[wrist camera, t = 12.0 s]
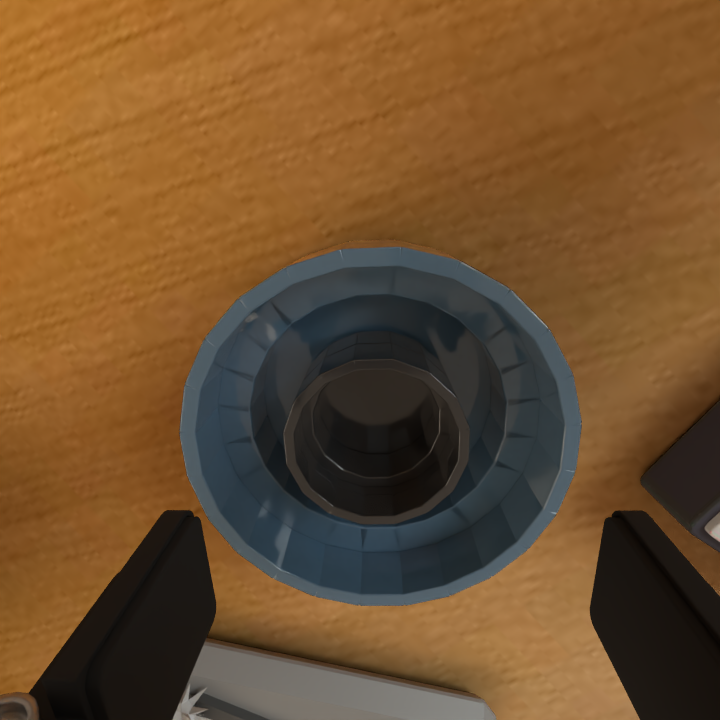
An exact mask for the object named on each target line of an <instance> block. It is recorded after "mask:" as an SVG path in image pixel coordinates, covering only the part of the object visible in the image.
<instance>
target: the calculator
mask: <svg viewBox="0 0 720 720" xmlns="http://www.w3.org/2000/svg"><path fill="white" fill-rule="evenodd" d="M641 485H642V486H643V487H644V488H645V489H646V490H647V491H648V492H649V493H650V494H651V495H652V496H653V497H654V498H655V499H656V500H657V501H658V502H659V503H660V504H661V505H662V506H663V507H664V508H665V509H666V510H667V511H668V512H669V513H670V514H671V515H672V516H673V517H674V518H675V519H676V520H677V521H678V522H679V523H680V524H681V525H682V526H683V527H684V528H685V529H687V530H688V531H689V532H690V533H691V534H692V535H694V536H695V537H697V538H698V539H700V540H701V541H703V542H704V543H706V544H708V545H709V546H711V547H712V548H714V549H715V550H717V551H718V552H720V400H719V401H718V402H717V403H716V404H715V405H714V406H713V407H712V408H711V409H710V410H709V411H708V412H707V413H706V414H705V415H704V416H703V417H702V418H701V419H700V420H699V421H698V422H697V423H696V424H695V425H694V426H693V427H692V428H691V429H690V430H689V431H688V432H687V433H686V434H685V435H684V436H683V437H682V438H680V439H679V440H678V441H677V442H676V443H675V444H674V445H673V446H672V447H671V448H670V449H669V450H668V451H667V452H666V453H665V454H664V455H663V456H662V457H661V458H660V459H659V460H658V461H657V462H656V463H655V464H654V465H653V466H652V467H651V468H650V469H649V470H648V471H647V472H646V473H645V474H644V475H643V476H642V477H641Z"/></svg>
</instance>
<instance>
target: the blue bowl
mask: <svg viewBox="0 0 720 720" xmlns="http://www.w3.org/2000/svg"><path fill="white" fill-rule="evenodd" d="M365 331H389V332H390V331H392V332H395V333H397V334H400V335H403V336H405V337H408V338H411V339H414V340H416V341H418V342H420V343H421V344H422V345H423V346H424V347H425V348H426V349H428V350H429V351H430V352H431V353H432V354H433V355H434V356H435V357H436V358H437V359H438V360H439V361H440V362H441V364H442V366H443V368H444V370H445V372H446V374H447V377H448V379H449V381H450V383H451V385H452V388H453V390H454V392H455V394H456V396H457V399H458V401H459V403H460V406H461V408H462V410H463V413H464V415H465V417H466V420H467V422H468V424H469V427H470V444H469V461H468V464H467V466H466V468H465V470H464V472H463V474H462V476H461V478H460V479H459V481H458V483H457V485H456V487H455V489H454V490H453V492H452V493H451V494H449V495H448V496H447V497H446V498H445V499H444V500H442V501H441V502H440V503H439V504H438V505H436V506H435V507H434V508H433V509H432V510H431V511H429V512H428V513H426V514H423V515H420V516H417V517H414V518H412V519H409V520H406V521H403V522H401V523H398V524H369V525H362V524H358V523H355V522H352V521H349V520H346V519H343V518H340V517H337V516H334V515H331V514H329V513H327V512H326V511H325V510H323V509H322V508H321V507H320V506H318V505H317V504H316V503H315V502H313V501H312V500H311V499H309V498H308V497H307V496H306V495H304V494H303V493H302V491H301V489H300V488H299V486H298V484H297V482H296V481H295V479H294V477H293V475H292V474H291V472H290V470H289V468H288V467H287V464H286V457H285V448H284V438H283V430H284V428H285V425H286V422H287V419H288V416H289V413H290V410H291V407H292V405H293V402H294V399H295V397H296V395H297V393H298V390H299V388H300V386H301V384H302V382H303V379H304V377H305V375H306V373H307V370H308V368H309V367H310V364H311V363H312V362H313V361H314V360H315V359H316V358H317V357H318V356H319V355H320V354H321V353H322V352H323V351H324V350H325V349H326V348H327V346H328V345H330V344H331V343H333V342H336V341H338V340H340V339H343V338H345V337H347V336H349V335H352V334H354V333H356V332H358V333H359V332H365ZM581 422H582V421H581V415H580V410H579V404H578V398H577V393H576V387H575V381H574V376H573V373H572V371H571V369H570V367H569V365H568V363H567V361H566V359H565V357H564V355H563V353H562V351H561V350H560V348H559V346H558V344H557V342H556V340H555V338H554V336H553V334H552V332H551V330H550V329H548V326H547V325H546V324H545V323H544V322H543V321H542V320H541V319H540V318H539V317H538V316H537V315H536V314H535V313H534V312H533V311H532V310H531V309H530V308H529V307H528V306H527V305H526V304H525V303H524V302H523V301H522V300H521V299H520V298H519V297H518V296H517V295H516V294H515V292H514V291H513V290H511V289H509V287H507V286H505V285H503V284H502V283H500V282H498V281H496V280H494V279H493V278H491V277H489V276H487V275H485V274H484V273H482V272H480V271H478V270H476V269H475V268H473V267H471V266H469V265H467V264H466V263H464V262H462V261H460V260H458V259H456V258H454V257H452V256H450V255H448V254H446V253H444V252H442V251H440V250H438V249H434V248H430V247H426V246H421V245H417V244H413V243H409V242H404V241H400V240H393V239H388V240H362V241H350V242H349V241H348V242H345V243H342V244H339V245H335V246H332V247H329V248H326V249H323V250H320V251H317V252H314V253H310V254H308V255H306V256H304V257H302V258H300V259H298V260H297V261H295V262H293V263H291V264H289V265H287V266H286V267H284V268H282V269H281V270H279V271H278V272H276V273H275V274H273V275H272V276H270V277H269V278H267V279H266V280H264V281H263V282H261V283H260V284H258V285H257V286H255V287H254V288H252V289H251V290H249V291H248V292H246V293H244V294H243V295H241V296H240V297H239V298H238V299H237V300H236V301H235V302H234V303H233V304H232V306H231V307H230V308H229V309H228V310H227V312H226V313H225V314H224V315H223V316H222V318H221V319H220V320H219V321H218V322H217V323H216V325H215V326H214V327H213V328H212V329H211V331H210V332H209V333H208V334H207V335H206V337H205V339H204V340H203V342H202V344H201V347H200V349H199V351H198V354H197V356H196V358H195V361H194V363H193V365H192V368H191V370H190V372H189V375H188V377H187V379H186V382H185V386H184V392H183V402H182V411H181V420H180V429H179V431H180V432H179V434H180V440H181V445H182V451H183V456H184V462H185V467H186V473H187V477H188V479H189V481H190V483H191V485H192V487H193V489H194V491H195V493H196V496H197V498H198V500H199V502H200V504H201V506H202V508H203V510H204V512H205V514H206V516H207V517H208V520H209V521H210V522H211V523H212V524H213V525H214V527H215V528H216V529H217V530H218V531H219V532H220V534H221V535H222V536H223V537H224V538H225V539H226V541H227V542H228V543H229V544H230V545H231V546H232V548H233V549H234V550H235V551H236V552H237V553H238V554H240V555H241V556H242V557H244V558H245V559H246V560H248V561H249V562H251V563H252V564H253V565H255V566H256V567H257V568H259V569H260V570H262V571H263V572H264V573H266V574H267V575H268V576H270V577H271V578H274V579H275V580H278V581H280V582H282V583H284V584H287V585H289V586H291V587H294V588H296V589H298V590H301V591H303V592H305V593H307V594H310V595H312V596H316V597H319V598H324V599H329V600H334V601H339V602H343V603H348V604H353V605H359V604H360V606H403V605H411V604H416V603H421V602H425V601H430V600H435V599H440V598H444V597H449V595H453V594H456V593H458V592H460V591H462V590H464V589H467V588H469V587H471V586H473V585H476V584H478V583H480V582H482V581H485V580H487V579H489V578H491V576H494V575H495V574H497V573H498V572H499V571H501V570H502V569H503V568H505V567H506V566H507V565H509V564H510V563H511V562H513V561H514V560H515V559H517V558H518V557H519V556H520V555H522V554H523V553H524V552H526V551H527V549H529V548H530V547H531V546H532V544H533V543H534V542H535V541H536V539H537V538H538V537H539V536H540V534H541V533H542V532H543V531H544V529H545V528H546V527H547V526H548V525H549V523H550V522H551V521H552V520H553V518H554V517H555V516H556V513H558V511H559V509H560V506H561V504H562V502H563V499H564V497H565V495H566V493H567V490H568V488H569V486H570V483H571V481H572V479H573V477H574V474H575V470H576V466H577V458H578V450H579V443H580V435H581V427H582V425H581Z"/></svg>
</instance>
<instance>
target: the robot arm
mask: <svg viewBox="0 0 720 720" xmlns="http://www.w3.org/2000/svg"><path fill="white" fill-rule="evenodd" d="M215 613H216V599H215V594H214V589H213V584H212V578H211V573H210V568H209V562H208V557H207V552H206V547H205V541H204V536H203V531H202V525H201V521H200V518H199V517H194V515H193V513H192V511H189V510H167V511H165V512H164V513H163V514H162V515H161V516H160V518H159V519H158V520H157V522H156V523H155V524H154V526H153V527H152V529H151V530H150V531H149V533H148V534H147V535H146V537H145V538H144V540H143V541H142V542H141V544H140V545H139V546H138V548H137V549H136V551H135V552H134V553H133V555H132V556H131V557H130V559H129V560H128V562H127V563H126V564H125V566H124V567H123V568H122V570H121V571H120V572H119V573H118V574H117V575H116V576H115V577H114V578H113V579H112V580H111V582H110V583H109V584H108V586H107V587H106V589H105V590H104V591H103V593H102V594H101V595H100V597H99V598H98V599H97V601H96V602H95V604H94V605H93V606H92V608H91V609H90V610H89V612H88V613H87V614H86V616H85V617H84V619H83V620H82V621H81V623H80V624H79V625H78V627H77V628H76V629H75V631H74V632H73V633H72V635H71V636H70V638H69V639H68V640H67V642H66V643H65V644H64V646H63V647H62V648H61V650H60V651H59V653H58V654H57V655H56V657H55V658H54V659H53V661H52V662H51V663H50V665H49V666H48V668H47V669H46V670H45V672H44V673H43V674H42V676H41V677H40V678H39V680H38V681H37V682H36V684H35V685H34V687H33V688H32V689H31V691H30V692H29V693H22V692H13V693H8V694H2V695H0V720H173V717H174V715H175V712H176V710H177V708H178V705H179V703H180V700H181V698H182V695H183V693H184V691H185V688H186V686H187V683H188V681H189V679H190V676H191V674H192V671H193V669H194V667H195V664H196V662H197V659H198V657H199V655H200V652H201V650H202V647H203V645H204V642H205V640H206V638H207V635H208V633H209V630H210V628H211V626H212V623H213V621H214V618H215ZM590 616H591V620H592V624H593V626H594V628H595V630H596V632H597V634H598V636H599V638H600V640H601V642H602V644H603V646H604V648H605V650H606V652H607V654H608V656H609V658H610V660H611V662H612V664H613V666H614V668H615V670H616V672H617V674H618V676H619V678H620V680H621V682H622V684H623V686H624V688H625V690H626V692H627V694H628V696H629V698H630V700H631V702H632V704H633V706H634V708H635V710H636V712H637V714H638V716H639V718H640V720H720V596H719V595H718V594H717V593H716V592H715V590H714V589H713V588H712V587H711V586H710V585H709V584H708V583H707V582H706V581H705V580H704V579H703V577H702V576H701V575H700V574H699V573H698V572H697V570H696V569H695V568H694V567H693V566H692V565H691V563H690V562H689V561H688V560H687V559H686V558H685V557H684V555H683V554H682V553H681V552H680V551H679V550H678V548H677V547H676V546H675V545H674V544H673V543H672V541H671V540H670V539H669V538H668V537H667V536H666V535H665V533H664V532H663V531H662V530H661V529H660V528H659V526H658V525H657V524H656V523H655V522H654V521H653V519H652V518H651V517H650V516H649V515H648V514H647V513H646V512H644V511H614V513H613V514H612V517H608V518H606V519H605V522H604V527H603V533H602V539H601V545H600V551H599V557H598V563H597V569H596V575H595V580H594V586H593V592H592V598H591V604H590Z"/></svg>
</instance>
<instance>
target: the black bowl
mask: <svg viewBox="0 0 720 720" xmlns="http://www.w3.org/2000/svg"><path fill="white" fill-rule="evenodd" d="M283 438H284V448H285V457H286V464H287V467H288V468H289V470H290V472H291V474H292V475H293V477H294V479H295V481H296V482H297V484H298V486H299V488H300V489H301V491H302V493H303V494H304V495H306V496H307V497H308V498H309V499H311V500H312V501H313V502H315V503H316V504H317V505H318V506H320V507H321V508H322V509H323V510H325V511H326V512H327V513H329V514H331V515H334V516H337V517H340V518H343V519H346V520H349V521H352V522H355V523H358V524H362V525H369V524H398V523H401V522H403V521H406V520H409V519H412V518H414V517H417V516H420V515H423V514H426V513H428V512H429V511H431V510H432V509H433V508H434V507H435V506H436V505H438V504H439V503H440V502H441V501H442V500H444V499H445V498H446V497H447V496H448V495H449V494H451V493H452V492H453V490H454V489H455V487H456V485H457V483H458V481H459V479H460V478H461V476H462V474H463V472H464V470H465V468H466V466H467V464H468V461H469V444H470V427H469V424H468V422H467V420H466V417H465V415H464V413H463V410H462V408H461V406H460V403H459V401H458V399H457V396H456V394H455V392H454V390H453V388H452V385H451V383H450V381H449V379H448V377H447V374H446V372H445V370H444V368H443V366H442V364H441V362H440V361H439V360H438V359H437V358H436V357H435V356H434V355H433V354H432V353H431V352H430V351H429V350H428V349H426V348H425V347H424V346H423V345H422V344H421V343H420V342H418V341H416V340H414V339H411V338H408V337H405V336H403V335H400V334H397V333H395V332H392V331H390V332H389V331H365V332H359V333H358V332H356V333H354V334H352V335H349V336H347V337H345V338H343V339H340V340H338V341H336V342H333V343H331V344H330V345H328V346H327V348H326V349H325V350H324V351H323V352H322V353H321V354H320V355H319V356H318V357H317V358H316V359H315V360H314V361H313V362H312V363H311V364H310V367H309V368H308V370H307V373H306V375H305V377H304V379H303V382H302V384H301V386H300V388H299V390H298V393H297V395H296V397H295V399H294V402H293V405H292V407H291V410H290V413H289V416H288V419H287V422H286V425H285V428H284V430H283Z"/></svg>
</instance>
